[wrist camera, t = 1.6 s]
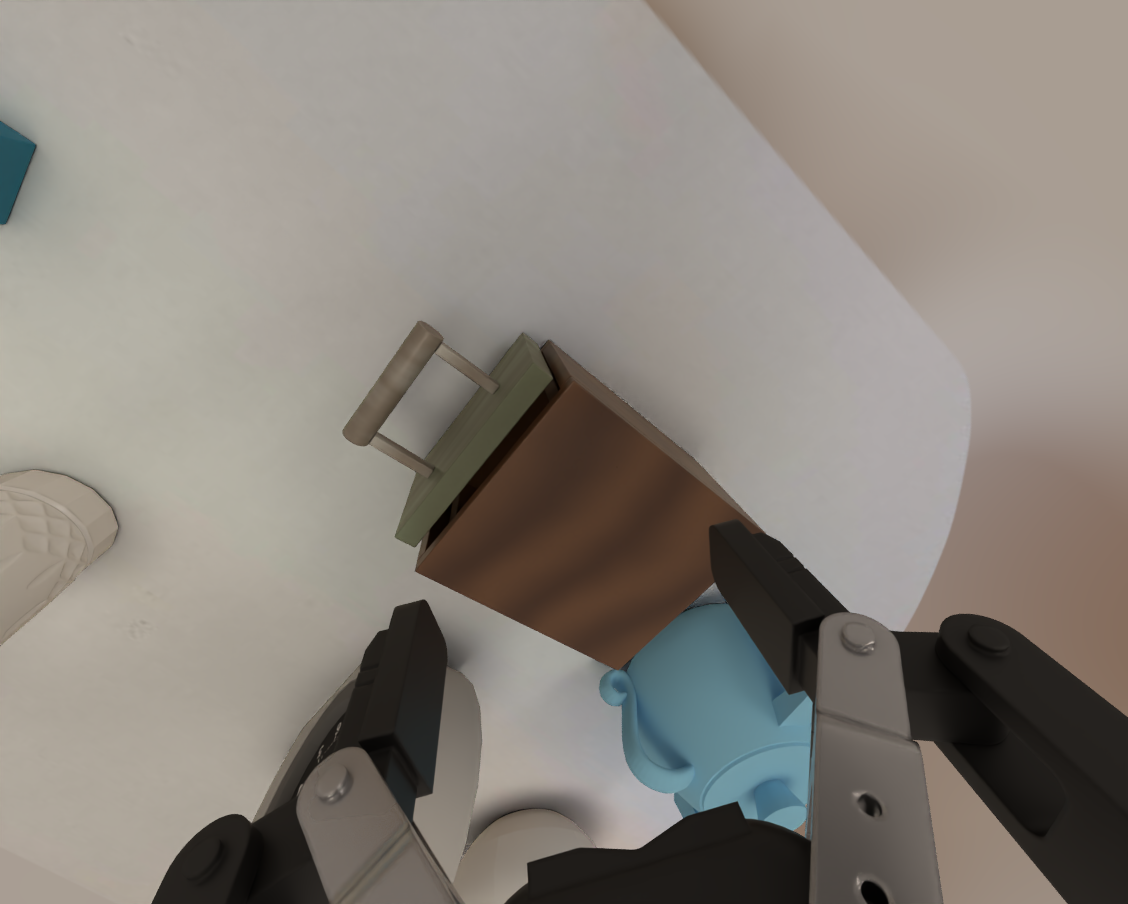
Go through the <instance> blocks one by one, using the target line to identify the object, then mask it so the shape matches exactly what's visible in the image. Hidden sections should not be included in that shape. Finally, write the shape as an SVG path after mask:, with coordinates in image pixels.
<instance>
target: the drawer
mask: <svg viewBox="0 0 1128 904" xmlns="http://www.w3.org/2000/svg"><path fill="white" fill-rule="evenodd" d="M443 339H444V338H443V336H442V335H441V334H440V333H439V332H438V331H437V330H435V329H434V328H433V327H431V326H430V325H428V324H427V323H425V322H423V321H418V322H417V324H416V325H415V327H414V328H413V329H412V331H411V332H410V334H409V335H408V337H407V338H406V339H405V341H404V342H403V344H402V345H401V347H400V348H399V350H398V351H397V352H396V354H395V355H394V357H393V358H392V360H391V361H390V363H389V364H388V365H387V367H386V368H385V370H384V371H383V373H382V374H381V376H380V377H379V378H378V380H377V381H376V383H375V384H374V386H373V387H372V389H371V390H370V391H369V393H368V394H367V396H366V397H365V399H364V400H363V402H362V403H361V404H360V406H359V407H358V409H357V410H356V412H355V413H354V415H353V416H352V417H351V419H350V420H349V422H348V423H347V425H346V426H345V427H344V429H343V435H344V437H345V438H346V439H347V440H349V441H350V442H352V443H353V444H356V445H358V446H367V445H368V444H370V445H371V446H373V447H375V448H376V449H378V450H380V451H381V452H383V453H385V454H387V455H388V456H390V457H392V458H393V459H395V460H397V461H398V462H400V463H402V464H404V465H405V466H407V467H409V468H410V469H412V470H414V471H415V472H416V475H415V478H414V481H413V484H412V487H411V490H410V493H409V496H408V499H407V502H406V505H405V508H404V511H403V513H402V516H401V519H400V522H399V525H398V528H397V531H396V534H395V538H397V539H399V540H401V541H403V542H405V543H407V544H409V545H411V546H413V547H416V546H417V544H418V543H419V542H420V541H421V540H422V538H423V537H424V536H425V535H426V533H427V532H428V531H429V530H430V529H431V527H432V526H433V525H434V524H435V522H436V521H437V520H438V519H439V518H440V516H441V515H442V514H443V513H444V511H445V510H446V509H447V508H448V506H449V505H450V504H451V503H452V508H451V514H450V520H449V523H450V521H451V520H452V519H453V518H454V517H455V515H456V514H457V513H458V512H459V511H460V509H461V508H462V507H463V506H464V504H465V503H466V502H467V501H468V500H469V498H470V497H471V496H472V495H473V494H474V492H475V491H476V490H477V489H478V488H479V486H480V485H481V484H482V483H483V482H484V480H485V479H486V478H487V477H488V476H489V474H490V473H491V472H492V471H493V469H494V468H495V467H496V466H497V465H498V463H499V462H500V461H501V460H502V459H503V457H504V456H505V455H506V454H507V453H508V451H509V450H510V449H511V448H512V447H513V445H514V444H515V443H516V442H517V441H518V439H519V438H520V437H521V436H522V434H523V433H524V432H525V431H526V430H527V428H528V427H529V426H530V425H531V424H532V422H533V421H534V420H535V419H536V418H537V416H538V415H539V414H540V413H541V412H542V410H543V409H544V408H545V407H546V406H547V404H548V403H549V402H550V401H551V400H552V398H553V397H554V396H555V395H556V393H557V392H558V391H559V390H560V387H559V385H558V383H557V381H556V379H555V377H554V375H553V372H552V371H551V370H550V369H549V368H548V366H547V364H546V362H545V360H544V357H543V355H542V353H541V351H540V349H539V347H538V345H537V343H535V342H534V341H533V340H532V339H530V338H529V337H528V336H527V335H526V334H524V333H522V334H521V335H520V336H519V337H518V339H517V340H516V341H515V343H514V344H513V345H512V346H511V348H510V349H509V350H508V352H507V353H506V354H505V356H504V357H503V358H502V359H501V361H500V362H499V363H498V365H497V366H496V367H495V369H494V370H493V371H492V372H491V374H490V375H487V374H486V373H484V372H483V371H482V370H480V369H479V368H478V367H476V366H475V365H474V364H472V363H471V362H469V361H468V360H467V359H465V358H464V357H463V356H461V355H460V354H459V353H457V352H456V351H454V350H453V349H452V348H450V347H449V346H448V345H446V344H445V343H443V342H442V341H443ZM434 352H435V354H436V355H438V356H439V357H440V358H442V359H443V360H445V361H446V362H447V363H449V364H450V365H452V366H453V367H454V368H456V369H457V370H459V371H460V372H461V373H463V374H464V375H466V376H467V377H468V378H470V379H471V380H472V381H474V382H475V383H477V384H478V385H479V386H481V387H480V388H479V389H478V391H477V392H476V393H475V395H474V396H473V397H472V398H471V400H470V401H469V402H468V404H467V405H466V406H465V407H464V409H463V410H462V411H461V413H460V414H459V415H458V417H457V418H456V419H455V420H454V422H453V423H452V424H451V426H450V427H449V428H448V430H447V431H446V432H445V433H444V435H443V436H442V437H441V439H440V440H439V441H438V443H437V444H436V445H435V446H434V448H433V449H432V450H431V452H430V453H429V454H428V456H427V457H426V458H425V459H424V460H423V459H422V458H420V457H418V456H417V455H415V454H413V453H412V452H410V451H408V450H407V449H405V448H403V447H402V446H400V445H398V444H397V443H395V442H393V441H392V440H390V439H388V438H387V437H385V436H383V435H382V434H380V433H378V430H379V429H380V427H381V426H382V425H383V423H384V422H385V420H386V419H387V418H388V416H389V415H390V413H391V412H392V411H393V409H394V408H395V407H396V405H397V404H398V402H399V401H400V400H401V398H402V397H403V395H404V394H405V393H406V391H407V390H408V388H409V387H410V386H411V384H412V383H413V382H414V380H415V379H416V377H417V376H418V375H419V373H420V372H421V370H422V369H423V368H424V366H425V365H426V363H427V362H428V361H429V359H430V358H431V357H432V355H433V354H434Z"/></svg>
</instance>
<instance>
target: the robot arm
mask: <svg viewBox="0 0 1128 904" xmlns="http://www.w3.org/2000/svg"><path fill="white" fill-rule="evenodd" d="M709 545H710V561H711V571H712V575H713V578H714V581H715V583H716V585H717V587H718V589H719V591H720V592H721V594H722V595H723V597H724V598H725V600H726V601H727V603H728V604H729V606H730V607H731V609H732V610H733V612H734V613H735V615H736V616H737V618H738V619H739V621H740V622H741V624H742V625H743V627H744V628H745V630H746V631H747V633H748V634H749V636H750V637H751V639H752V640H753V642H754V643H755V645H756V646H757V648H758V649H759V651H760V652H761V654H762V655H763V657H764V658H765V660H766V661H767V663H768V664H769V666H770V667H771V669H772V670H773V672H774V673H775V675H776V676H777V678H778V680H779V681H780V683H781V684H782V686H783V687H784V689H785V690H786V692H787V693H788V695H791V694H794V693H798V692H801V691H805V692H806V694H807V695H808V697H809V698H810V699H811V701H812V702H813V703H812V719H811V739H810V760H809V780H808V797H807V812H806V828H805V837H803V836H802V835H800V834H798V833H796V832H794V831H792V830H790V829H787V828H785V827H783V826H780V825H777V824H774V823H771V822H768V821H762V820H757V819H746V818H745V817H744V815H743V812H742V810H741V808H740V806H739V803H738V801H736V802H733V803H729V804H726V805H722V806H719V807H716V808H712V809H709V810H705V811H702V812H698V813H695V814H692V815H688V816H686V817H684V818H683V819H682V820H680V821H679V822H677V823H676V824H674V825H673V826H672V827H670V828H669V829H667V830H666V831H664V832H663V833H662V834H660V835H659V836H657V837H656V838H654V839H653V840H652V841H650V842H649V843H647V844H646V845H644V846H643V847H641V848H639V849H635V850H626V849H605V848H584V847H579V848H576V849H572V850H569V851H565V852H562V853H558V854H555V855H552V856H548V857H545V858H541V859H538V860H535V861H531V862H528V863H527V873H528V883H527V884H525V885H524V886H522V887H521V888H520V889H519V890H518V891H516V892H515V893H514V894H513V895H512V896H511V897H510V898H509V899H508V900H507V901H506V902H505V903H504V904H943V897H942V890H941V884H940V876H939V869H938V862H937V855H936V848H935V842H934V834H933V828H932V820H931V813H930V806H929V799H928V793H927V786H926V778H925V772H924V764H923V758H922V754H921V750H920V747H919V744H918V743H917V742H915V741H913V740H924V741H934V743H935V744H936V745H937V746H938V748H939V749H940V750H941V751H942V752H943V754H944V755H945V756H946V757H947V758H948V760H949V761H950V762H951V763H952V764H953V766H954V767H955V768H956V769H957V771H958V772H959V773H960V774H961V775H962V777H963V778H964V779H965V780H966V781H967V783H968V784H969V785H970V786H971V787H972V788H973V790H974V791H975V792H976V793H977V795H978V796H979V797H980V798H981V799H982V800H983V802H984V803H985V804H986V805H987V807H988V808H989V809H990V810H991V812H992V813H993V814H994V815H995V816H996V818H997V819H998V820H999V821H1000V823H1001V824H1002V825H1003V826H1004V827H1005V829H1006V830H1007V831H1008V832H1009V833H1010V835H1011V836H1012V837H1013V838H1014V839H1015V841H1016V842H1017V843H1018V844H1019V845H1020V847H1021V848H1022V849H1023V850H1024V852H1025V853H1026V854H1027V855H1028V856H1029V858H1030V859H1031V860H1032V861H1033V862H1034V864H1035V865H1036V866H1037V867H1038V868H1039V870H1040V871H1041V872H1042V873H1043V874H1044V876H1045V877H1046V878H1047V879H1048V880H1049V882H1050V883H1051V884H1052V885H1053V887H1054V888H1055V889H1056V890H1057V891H1058V893H1059V894H1060V895H1061V896H1062V897H1063V899H1064V900H1065V901H1066V902H1067V903H1068V904H1128V717H1127V716H1125V715H1124V714H1123V713H1121V712H1120V711H1119V710H1118V709H1117V708H1115V707H1114V706H1113V705H1111V704H1110V703H1109V702H1107V701H1106V700H1105V699H1104V698H1102V697H1101V696H1100V695H1098V694H1097V693H1096V692H1095V691H1094V690H1092V689H1091V688H1090V687H1088V686H1087V685H1086V684H1085V683H1083V682H1082V681H1081V680H1079V679H1078V678H1077V677H1076V676H1074V675H1073V674H1072V673H1070V672H1069V671H1068V670H1067V669H1065V668H1064V667H1063V666H1062V665H1060V664H1059V663H1058V662H1056V661H1055V660H1054V659H1053V658H1051V657H1050V656H1049V655H1047V654H1046V653H1045V652H1043V651H1042V650H1041V649H1040V648H1038V647H1037V646H1036V645H1035V644H1033V643H1032V642H1030V640H1028V639H1027V638H1026V637H1024V636H1023V635H1022V634H1020V633H1019V632H1017V631H1016V630H1015V629H1013V628H1011V627H1010V626H1008V625H1005V624H1003V623H1001V622H999V621H997V620H994V619H991V618H988V617H984V616H980V615H974V614H957V615H952V616H950V617H948V618H946V619H945V620H944V621H943V622H942V624H941V626H940V630H939V633H936V632H934V633H933V632H898V631H890V630H888V629H887V628H886V627H885V626H883V625H882V624H881V623H879V622H877V621H876V620H874V619H872V618H869V617H867V616H864V615H860V614H856V613H850V612H849V611H848V610H847V609H846V608H845V607H844V606H843V605H842V604H841V603H840V602H839V601H838V600H837V599H836V598H835V597H834V596H833V595H832V594H831V593H830V592H829V591H828V590H827V589H826V588H825V587H824V586H823V585H822V584H821V583H820V582H819V581H818V580H817V579H816V578H815V577H814V576H813V575H812V574H811V573H810V572H809V571H808V570H807V569H805V568H804V566H803V565H802V564H801V563H800V562H799V560H798V559H797V558H796V557H795V558H794V557H793V554H792V553H791V552H790V551H789V550H788V549H787V548H786V547H785V546H784V545H783V544H782V543H781V542H780V541H778V540H776V539H774V538H772V537H770V536H768V535H766V534H764V533H762V532H760V533H756V534H751V533H750V531H749V530H748V529H747V528H746V527H745V526H744V525H743V524H742V523H741V522H740V521H739V520H738V519H734V520H730V521H726V522H722V523H718V524H715V525H711V526H710V527H709ZM446 668H447V648H446V643H445V639H444V637H443V634H442V632H441V630H440V628H439V626H438V624H437V622H436V619H435V617H434V615H433V613H432V611H431V609H430V606H429V604H428V603H427V601H426V600H419V601H416V602H412V603H408V604H404V605H400V606H397V607H395V609H394V611H393V615H392V618H391V622H390V625H389V629H387V630H383V631H379V632H378V633H377V635H376V636H375V637H374V639H373V640H372V642H371V643H370V645H369V646H368V647H367V649H366V650H365V654H364V657H363V660H362V663H361V666H360V672H359V673H358V676H357V679H356V682H355V688H354V689H353V691H352V694H351V698H350V701H349V704H348V707H347V710H346V713H345V716H344V720H343V723H342V726H341V729H340V732H339V735H338V739H337V742H336V745H335V748H334V751H333V753H332V754H331V755H330V756H328V757H327V758H326V759H324V760H323V761H322V762H321V763H320V764H319V765H318V766H317V767H316V768H315V769H314V770H313V771H312V772H311V774H310V775H309V777H308V778H307V780H306V781H305V783H304V785H303V787H302V789H301V791H300V793H299V795H298V796H296V797H295V798H293V799H292V800H290V801H288V802H287V803H285V804H283V805H282V806H280V807H278V808H277V809H275V810H273V811H272V812H270V813H268V814H267V815H265V816H263V817H262V818H260V819H258V820H257V821H255V822H254V823H250V822H249V821H248V820H247V819H246V818H245V817H244V816H242V815H239V814H231V815H227V816H224V817H221V818H219V819H217V820H215V821H214V822H212V823H210V824H209V825H207V826H206V827H205V828H203V829H202V830H201V831H200V832H198V833H197V834H196V835H195V836H194V837H193V838H192V839H191V840H190V841H189V842H188V843H187V844H186V845H185V846H184V848H183V849H182V850H181V851H180V853H179V854H178V855H177V856H176V858H175V859H174V861H173V862H172V864H171V865H170V867H169V869H168V871H167V873H166V875H165V877H164V879H163V881H162V883H161V885H160V887H159V889H158V891H157V893H156V895H155V897H154V899H153V901H152V904H465V903H464V901H463V900H462V898H461V897H460V895H459V894H458V892H457V890H456V889H455V887H454V886H453V884H452V882H451V881H450V879H449V877H448V876H447V874H446V872H445V871H444V869H443V867H442V866H441V864H440V862H439V861H438V859H437V858H436V856H435V854H434V853H433V851H432V849H431V848H430V846H429V844H428V843H427V841H426V839H425V838H424V836H423V834H422V833H421V831H420V830H419V828H418V826H417V825H416V823H415V821H414V820H413V815H414V808H415V801H416V798H419V797H423V796H427V795H430V794H433V786H434V777H435V768H436V759H437V750H438V741H439V732H440V723H441V714H442V705H443V696H444V687H445V677H446Z"/></svg>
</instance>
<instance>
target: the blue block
mask: <svg viewBox="0 0 1128 904" xmlns="http://www.w3.org/2000/svg"><path fill="white" fill-rule="evenodd" d="M35 147H36V145H35V144H34V143H33V142H31V141H30V140H28V139H27V138H25V137H24V136H22V135H20V134H19V133H17V132H16V131H14V130H13V129H11V128H10V127H8V126H7V125H5V124H4V123H2V122H1V121H0V224H6V222H7V219H8V217H9V214H10V211H11V209H12V206H13V204H14V201H15V198H16V196H17V193H18V191H19V188H20V185H21V183H22V180H23V178H24V175H25V172H26V170H27V167H28V165H29V162H30V160H31V157H32V154H33V152H34V149H35Z"/></svg>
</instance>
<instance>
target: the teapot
mask: <svg viewBox="0 0 1128 904" xmlns="http://www.w3.org/2000/svg"><path fill="white" fill-rule="evenodd" d="M614 688H615V689H616V690H617V691H618V692H617V691H616V690H615V689H614ZM599 690H600V694H601V697H602V698H603V700H604V701H605V702H606V703H608V704H609V705H611V706H620V705H622V742H623V749H624V754H625V758H626V761H627V764H628V766H629V768H630V770H631V771H632V773H633V774H634V776H635V777H636V778H637V779H638V780H639V781H640V782H641V783H643V784H644V785H645V786H647V787H649V788H651V789H653V790H655V791H658V792H662V793H674V801H675V803H676V805H677V807H678V809H679V811H680V813H681V815H682V816H683V818H684V817H686V816H688V815H692V814H695V813H698V812H702V811H705V810H709V809H712V808H716V807H719V806H722V805H726V804H729V803H733V802H736V801H738V803H739V806H740V808H741V810H742V812H743V815H744V817H745V818H746V819H757V820H762V821H768V822H771V823H774V824H777V825H780V826H783V827H785V828H787V829H790V830H792V831H793V830H795V829H796V828H798V827H799V826H801V825H802V824H803V822H804V821H805V820H806V812H807V808H806V807H805V804H807V797H808V780H809V760H810V739H811V719H812V703H813V702H812V701H811V699H810V698H809V697H808V695H807V694H806V692H805V691H801V692H798V693H794V694H791V695H788V693H787V692H786V690H785V689H784V687H783V686H782V684H781V683H780V681H779V680H778V678H777V676H776V675H775V673H774V672H773V670H772V669H771V667H770V666H769V664H768V663H767V661H766V660H765V658H764V657H763V655H762V654H761V652H760V651H759V649H758V648H757V646H756V645H755V643H754V642H753V640H752V639H751V637H750V636H749V634H748V633H747V631H746V630H745V628H744V627H743V625H742V624H741V622H740V621H739V619H738V618H737V616H736V615H735V613H734V612H733V610H732V609H731V607H730V606H729V604H710V605H704V606H700V607H696V608H693V609H690V610H687V611H684V612H682V613H681V614H679V615H678V616H677V617H676V618H675V619H674V620H673V621H672V622H671V623H670V624H669V625H667V626H666V627H665V628H664V629H663V630H662V631H661V632H660V633H659V634H658V635H657V636H655V637H654V638H653V639H652V640H651V641H650V642H649V643H648V644H647V645H646V646H645V647H643V648H642V649H641V650H640V651H639V652H638V653H637V654H636V655H635V656H634V657H633V659H632V661H631V663H630V665H629V668H628V670H627V672H625V671H623V670H620V669H619V670H616V669H615V670H611V671H609V672H607V673H606V674H605V675H604V676H603V677H602V678H601V680H600V686H599Z"/></svg>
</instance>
